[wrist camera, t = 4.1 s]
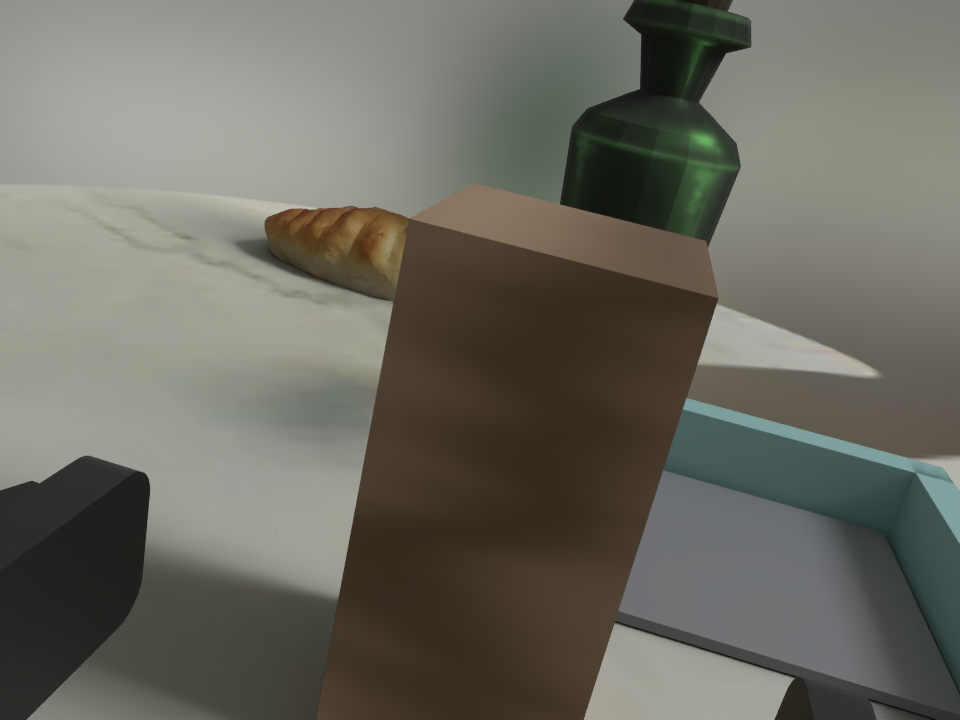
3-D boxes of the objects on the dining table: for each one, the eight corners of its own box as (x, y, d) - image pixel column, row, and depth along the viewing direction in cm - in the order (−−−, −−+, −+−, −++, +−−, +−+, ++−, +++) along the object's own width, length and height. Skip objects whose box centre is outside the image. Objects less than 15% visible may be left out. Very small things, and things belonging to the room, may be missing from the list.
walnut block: (310, 749, 16) (409, 218, 13) (385, 609, 20) (474, 183, 17) (547, 830, 16) (717, 297, 12) (574, 669, 20) (706, 240, 16)
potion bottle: (539, 293, 49) (624, -54, 43) (682, 331, 48) (790, -19, 42) (513, 332, 42) (611, -82, 35) (682, 378, 40) (814, -41, 34)
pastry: (234, 260, 44) (243, 184, 42) (298, 241, 50) (308, 174, 49) (407, 313, 42) (422, 235, 40) (451, 286, 48) (466, 217, 47)
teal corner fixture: (379, 759, 16) (403, 650, 15) (523, 421, 32) (539, 358, 31) (1184, 1031, 14) (1261, 925, 14) (914, 531, 30) (943, 467, 29)
